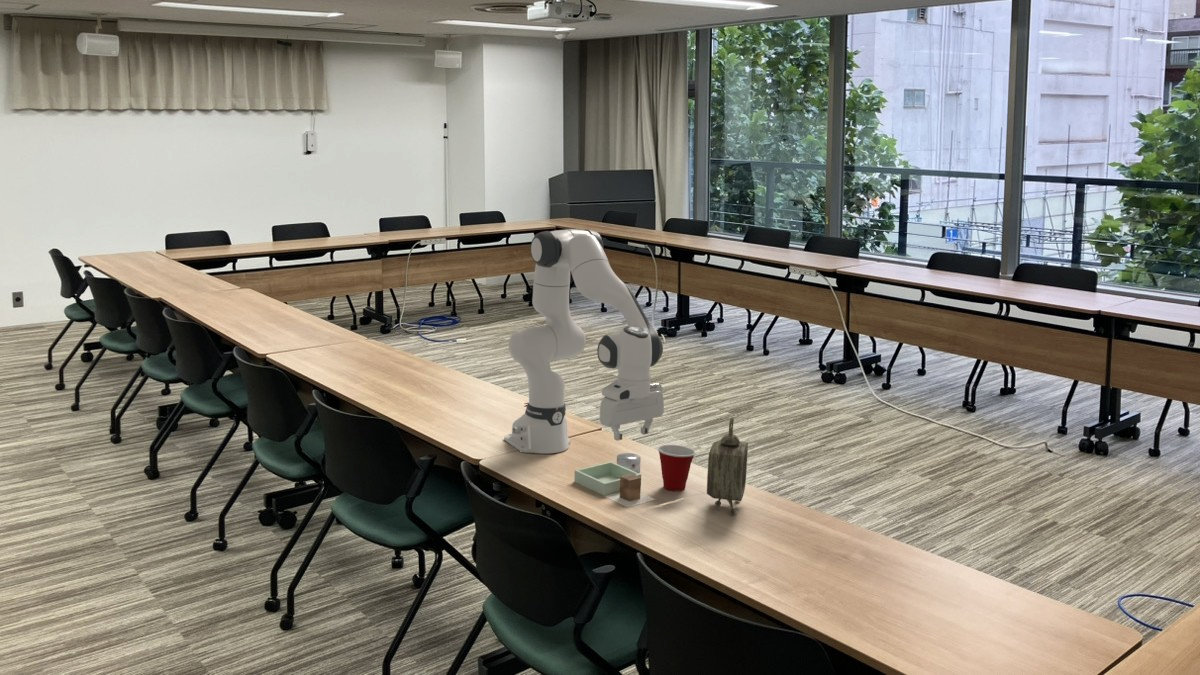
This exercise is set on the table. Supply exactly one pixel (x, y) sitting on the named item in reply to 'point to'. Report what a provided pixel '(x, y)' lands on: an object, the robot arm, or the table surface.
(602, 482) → the crate
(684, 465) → the plastic cup
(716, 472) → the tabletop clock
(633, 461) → the metal tin
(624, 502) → the coaster
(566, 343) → the robot arm
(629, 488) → the walnut block
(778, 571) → the table surface
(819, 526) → the table surface
